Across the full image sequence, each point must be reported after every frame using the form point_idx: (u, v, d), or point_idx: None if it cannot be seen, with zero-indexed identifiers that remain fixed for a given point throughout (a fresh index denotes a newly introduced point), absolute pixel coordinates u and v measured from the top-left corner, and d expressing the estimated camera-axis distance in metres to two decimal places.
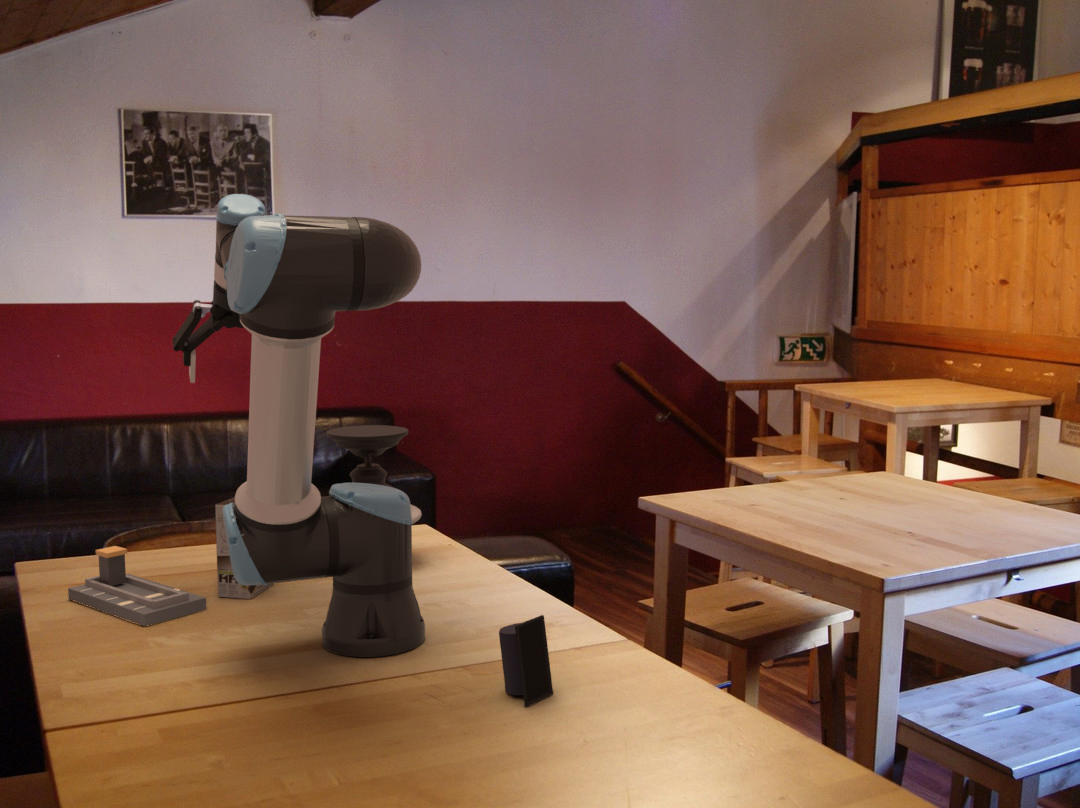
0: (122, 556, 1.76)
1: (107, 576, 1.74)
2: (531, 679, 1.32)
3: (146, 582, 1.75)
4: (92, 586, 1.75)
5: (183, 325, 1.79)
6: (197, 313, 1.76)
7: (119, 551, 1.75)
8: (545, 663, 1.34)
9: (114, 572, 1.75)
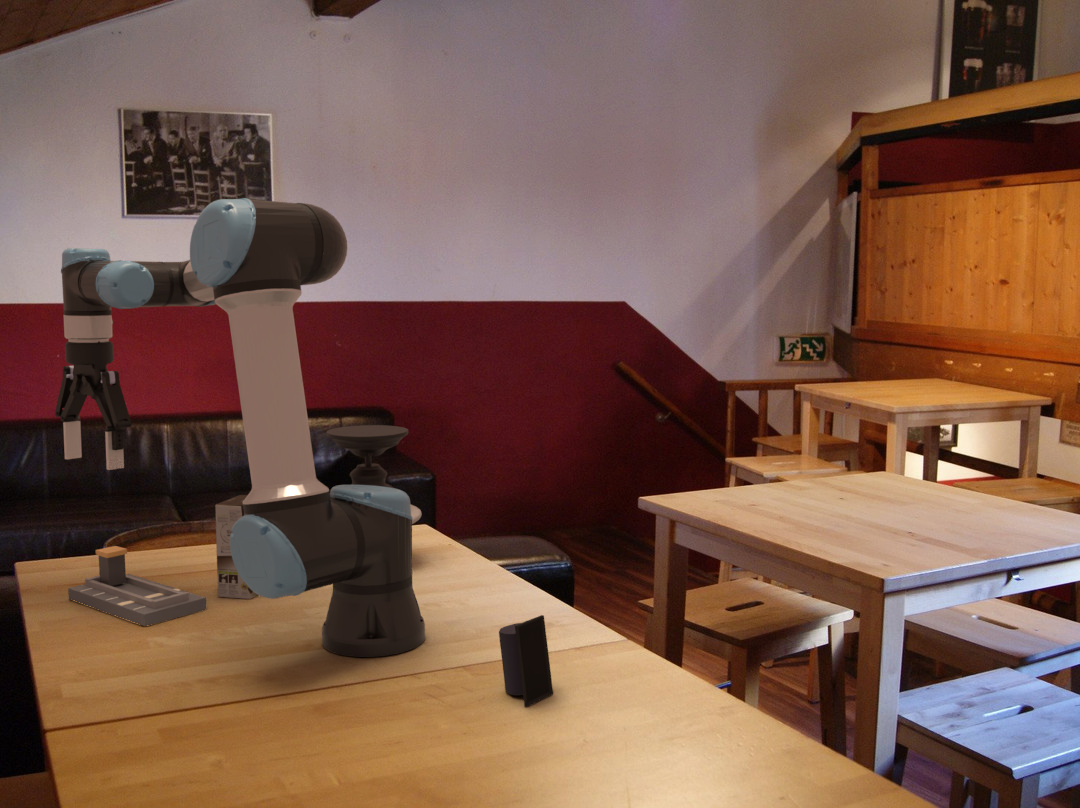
0: (122, 556, 1.76)
1: (107, 576, 1.74)
2: (531, 679, 1.32)
3: (146, 582, 1.75)
4: (92, 586, 1.75)
5: None
6: (64, 371, 1.80)
7: (119, 551, 1.75)
8: (545, 663, 1.34)
9: (114, 572, 1.75)
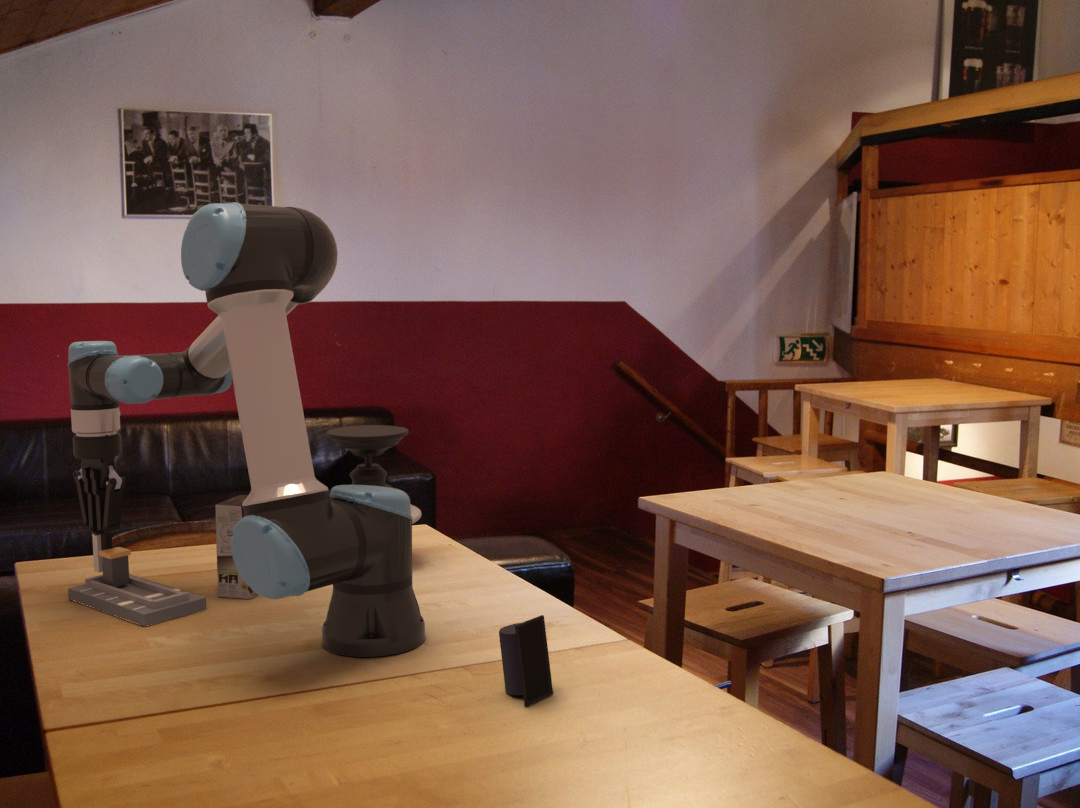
0: (126, 557, 1.75)
1: (110, 577, 1.74)
2: (531, 679, 1.32)
3: (146, 582, 1.75)
4: (92, 586, 1.75)
5: None
6: (75, 477, 1.78)
7: (123, 552, 1.74)
8: (545, 663, 1.34)
9: (118, 573, 1.74)
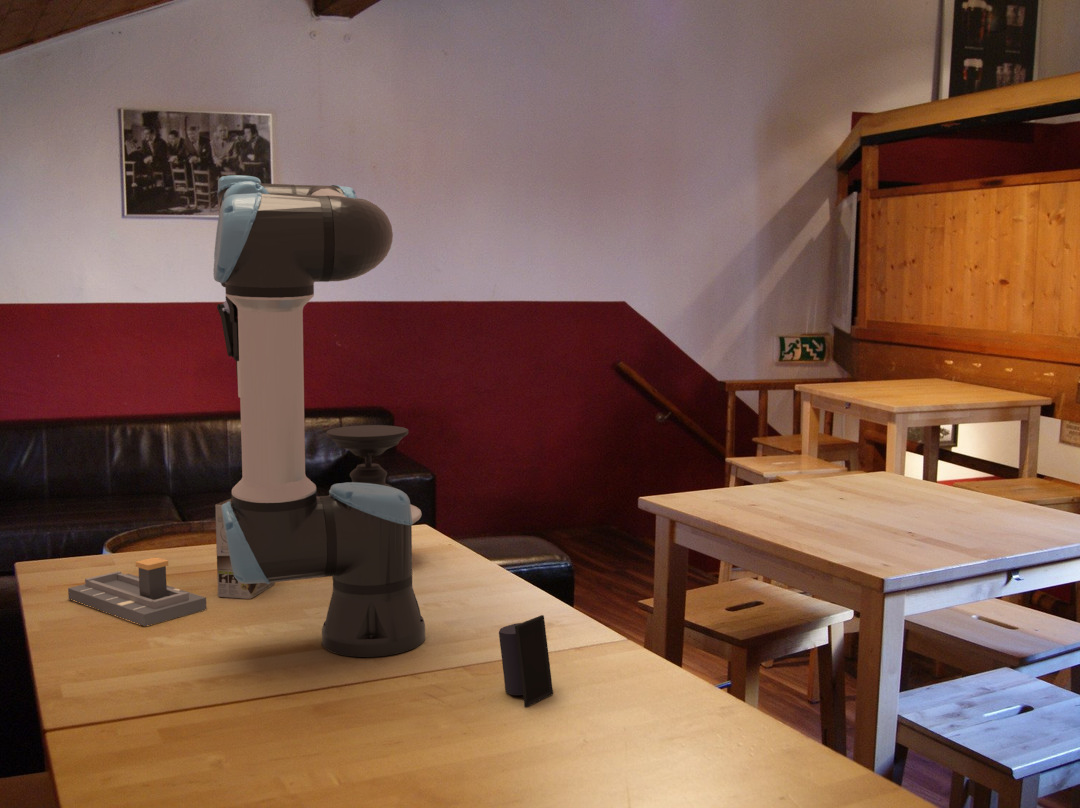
0: (163, 568, 1.68)
1: (148, 589, 1.67)
2: (531, 679, 1.32)
3: None
4: (92, 586, 1.75)
5: None
6: (219, 309, 1.89)
7: (160, 563, 1.68)
8: (545, 663, 1.34)
9: (155, 585, 1.68)
